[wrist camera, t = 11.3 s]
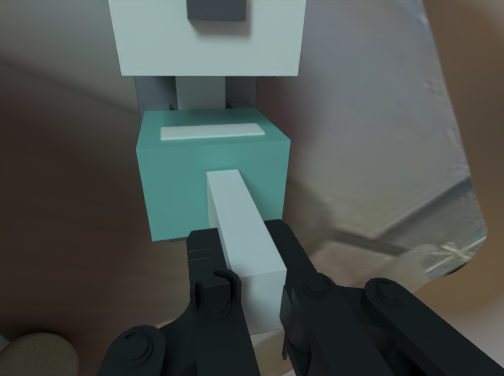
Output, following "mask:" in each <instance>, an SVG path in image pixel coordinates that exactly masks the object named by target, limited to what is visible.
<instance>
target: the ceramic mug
mask: <svg viewBox="0 0 504 376" xmlns="http://www.w3.org/2000/svg"><path fill="white" fill-rule="evenodd" d="M78 371H79V360H78V355H77V352H76V350H75V349H74V347H73V346H72V345H71V343H70V342H68V341H67V340H66V339H65V338H63V337H61V336H59V335H56V334H53V333H45V332H37V333H31V334H28V335H25V336H22V337H20V338H18V339H16V340H14V341H12V342H9V341H8V340H7V339H6V338H5V337H3V336H2V335H1V334H0V376H78Z"/></svg>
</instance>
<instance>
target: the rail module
mask: <svg viewBox="0 0 504 376" xmlns="http://www.w3.org/2000/svg"><path fill="white" fill-rule="evenodd" d="M290 143H291V140H290V139H289V138H288V137H287V136H286V135H285V134H283V133H282V132H281V131H280V130H279V129H278V128H277V127H276V126H275V125H274V124H272V123H271V122H270V121H269V120H268V119H267V118H266V117H265V116H264V115H263V114H262V113H260V112H259V111H258V110H257V109H256V108H255V107H254V106H253V105H252V104H251V103H250V102H228V109H203V110H170V104H146V106H145V111H144V115H143V120H142V124H141V129H140V133H139V138H138V142H137V147H136V153H137V159H138V164H139V170H140V175H141V181H142V186H143V192H144V197H145V203H146V209H147V214H148V220H149V225H150V231H151V236H152V241H159V240H166V239H173V238H181V237H188V236H189V234H190V232H191V231H194V230H201V229H209V228H210V224H209V217H208V197H207V177H206V172H209V171H221V170H235V169H238V171H239V173H240V175H241V177H242V179H243V181H244V183H245V185H246V187H247V189H248V191H249V193H250V195H251V197H252V199H253V201H254V203H255V205H256V208H257V210H258V212H259V214H260V216H261V218H262V220H263V221H266V220H274V219H281V220H282V213H283V204H284V196H285V187H286V178H287V169H288V160H289V152H290Z"/></svg>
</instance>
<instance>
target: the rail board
mask: <svg viewBox="0 0 504 376" xmlns="http://www.w3.org/2000/svg"><path fill="white" fill-rule="evenodd" d="M108 2H109V7H110V13H111V19H112V24H113V30H114V35H115V41H116V46H117V52H118V57H119V63H120V68H121V74H122V76H134V80H135V86H136V93H137V99H138V105H139V111H140V117H141V124H142V120H143V115H144V111H145V106H146V104H170V110H203V109H228V102H250V103H251V104H252V105H253V106H254V107H256V85H257V76H298V68H299V59H300V50H301V41H302V33H303V24H304V15H305V6H306V0H108ZM187 238H188V237H181V238H173V239H170V242H172V241H180V240H187Z"/></svg>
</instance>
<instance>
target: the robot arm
mask: <svg viewBox="0 0 504 376" xmlns="http://www.w3.org/2000/svg"><path fill="white" fill-rule="evenodd" d="M206 177H207V197H208V217H209V224H210V228H209V229H201V230H194V231H191V232H190V234H189V236H188V238H187V240H186V243H187V255H188V267H189V279H190V303H189V305H188V307H187V309H186V310H185V312H184V313H183V314H182V315H181V316H180V317H179V318H177V319H176V320H174V321H173V322H171V323H169V324H167V325H165V326H163V327H161V328H159V329H157V328H156V327H154V326H149V325H141V326H135V327H133V328H131V329H129V330H127V331H125V332H123V333H122V334H121V335H120V336H119V337H117V338H116V339H115V340H114V341H113V343H112V344H111V346H110V348H109V349H108V351H107V353H106V355H105V358H104V360H103V362H102V364H101V367H100V369H99V371H98V374H97V376H261V375H260V372H259V368H258V364H257V360H256V357H255V353H254V349H253V346H252V342H251V338H250V335H255V334H260V333H264V332H269V331H273V330H278V329H279V323H280V320H281V322H282V325H283V328H284V330H285V338H284V344H283V350H282V355H283V360H286V359H287V354H288V355H289V357H290V360H291V363H292V366H293V368H294V371H295V374H296V376H504V368H502V367H501V366H500V365H499V364H497V363H496V362H495V361H494V360H492V359H491V358H490V357H489V356H488V355H486V354H485V353H484V352H483V351H481V350H480V349H479V348H478V347H477V346H475V345H474V344H473V343H472V342H470V341H469V340H468V339H466V338H465V337H464V336H463V335H462V334H461V333H459V332H458V331H457V330H456V329H454V328H453V327H452V326H451V325H450V324H448V323H447V322H446V321H445V320H443V319H442V318H441V317H440V316H438V315H437V314H436V313H435V312H434V311H432V310H431V309H430V308H429V307H427V306H426V305H425V304H424V303H422V302H421V301H420V300H419V299H418V298H416V297H415V296H414V295H413V294H411V293H410V292H409V291H408V290H407V289H405V288H404V287H403V286H401V285H400V284H398V283H396V282H395V281H392V280H389V279H386V278H373V279H370V280H369V281H368V282H367V283H366V284H365V287H364V289H362V288H352V287H343V286H338V285H336V284H335V283H334V282H333V281H332V280H331V279H330V278H329V277H327V276H326V275H324V274H322V273H318V272H317V271H316V269H315V268H314V266H313V264H312V263H311V261H310V260H309V258H308V256H307V255H306V253H305V251H304V250H303V248H302V246H301V245H300V244H299V241H298V240H297V238H296V237H295V236H294V233H293V232H292V230H291V228H290V227H289V225H287V224H286V223H285V222H283V221H282V220H281V219H274V220H266V221H263V220H262V218H261V216H260V214H259V212H258V210H257V208H256V205H255V203H254V201H253V199H252V197H251V195H250V193H249V191H248V189H247V187H246V185H245V183H244V181H243V179H242V177H241V175H240V173H239V171H238V169H235V170H221V171H209V172H206Z"/></svg>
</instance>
